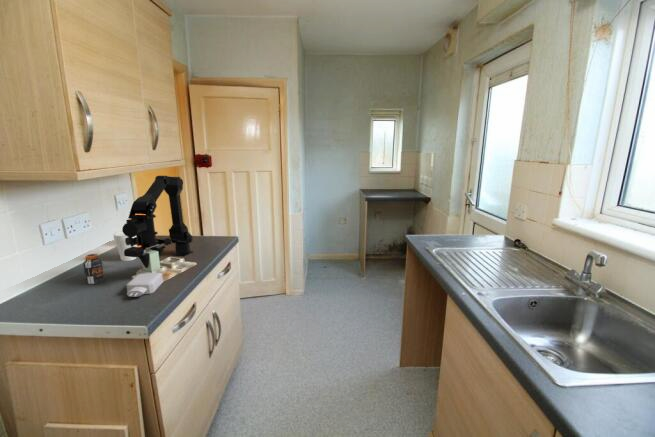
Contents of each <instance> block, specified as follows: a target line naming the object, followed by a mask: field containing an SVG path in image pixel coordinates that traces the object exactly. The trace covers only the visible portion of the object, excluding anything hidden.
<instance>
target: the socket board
mask: <svg viewBox="0 0 655 437" xmlns="http://www.w3.org/2000/svg"><path fill="white" fill-rule="evenodd" d="M159 261H160V269H158V270H156V271H154V272H152V273H161V274H162V278H163V283H164V282H166V281H168V280H169V279H172V278H173V277H175V276H178V275H179V274H181V273H182V272H185V271H187V270H189V269H191V268H193V267H194V266H196V265H197V262H193V261H185V258H184V257H176V256H169V257H166V258H164V259H162V260H159ZM142 273H151V272H144V271H143V268H141V269H139V270H136V274H134V275H132V276H131V279H134V278H135V277H136V276H137V275H138V274H142Z"/></svg>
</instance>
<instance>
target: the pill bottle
mask: <svg viewBox="0 0 655 437" xmlns="http://www.w3.org/2000/svg"><path fill="white" fill-rule="evenodd" d="M84 257H85V259H84V261H83V263H82V266H83V270H84V271H83V272H84V277H85V281H86V284H88V285H95V284H96V285H97V284H98V283H102V282H103V281H104V280H105V274H104V267H103V261H102V259H101V258H99V256H98V253H90V254H87V255H86V254H85V256H84Z"/></svg>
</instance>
